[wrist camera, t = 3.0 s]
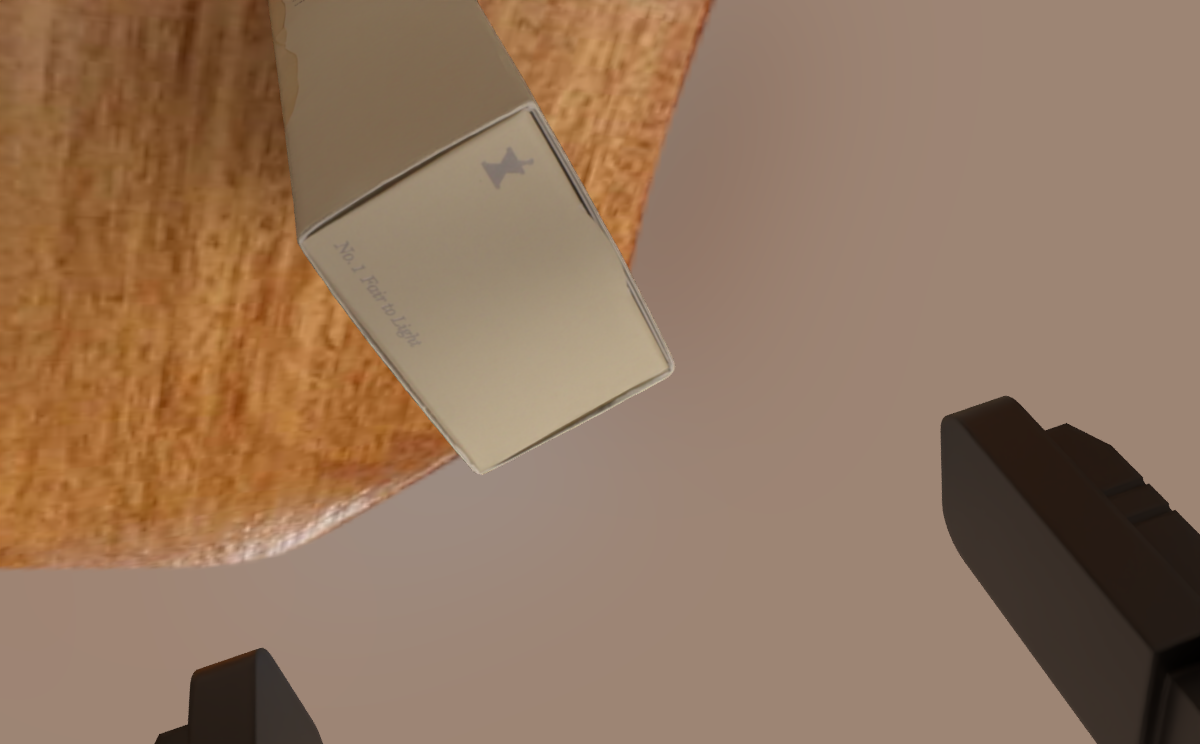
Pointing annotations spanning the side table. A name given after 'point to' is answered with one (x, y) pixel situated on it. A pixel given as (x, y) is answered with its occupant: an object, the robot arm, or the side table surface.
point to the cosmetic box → (456, 224)
